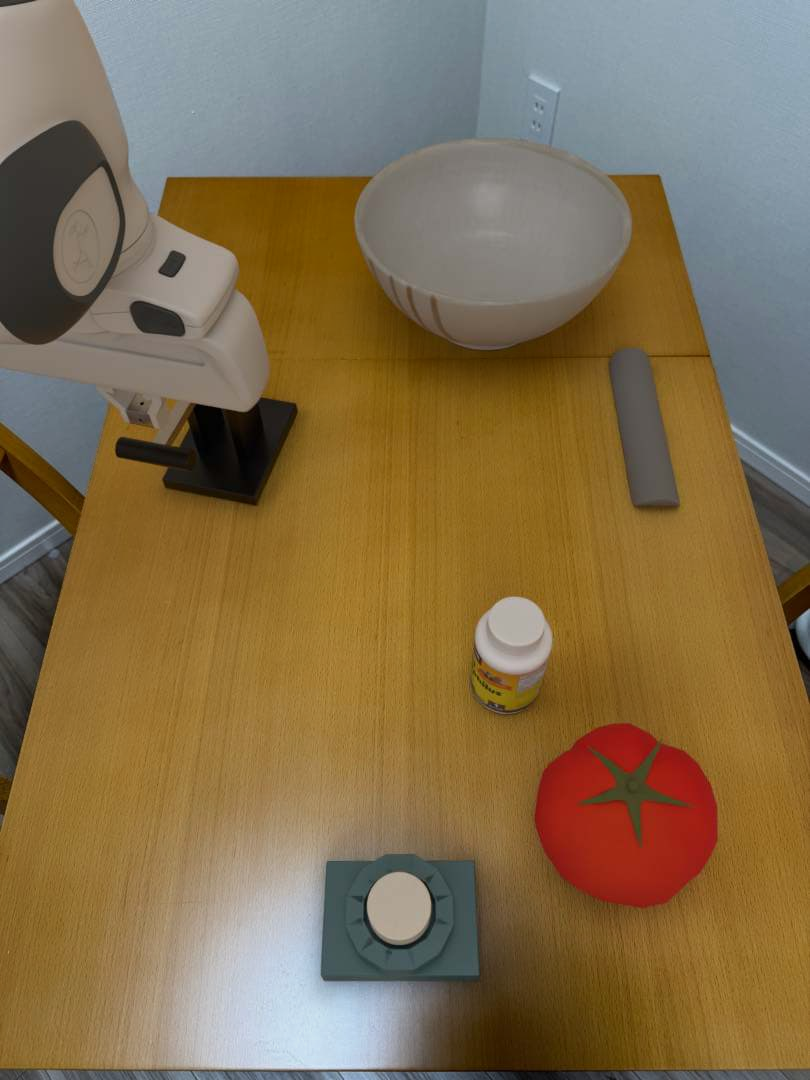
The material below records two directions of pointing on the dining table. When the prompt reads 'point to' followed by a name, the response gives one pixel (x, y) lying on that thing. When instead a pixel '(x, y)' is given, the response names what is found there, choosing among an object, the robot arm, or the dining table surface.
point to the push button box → (429, 958)
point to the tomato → (626, 816)
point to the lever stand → (233, 450)
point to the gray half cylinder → (642, 430)
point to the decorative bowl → (492, 238)
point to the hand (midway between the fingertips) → (148, 420)
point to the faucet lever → (162, 443)
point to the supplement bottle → (510, 655)
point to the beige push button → (399, 908)
